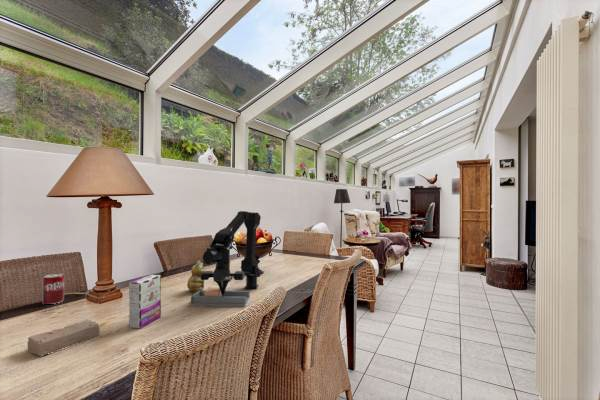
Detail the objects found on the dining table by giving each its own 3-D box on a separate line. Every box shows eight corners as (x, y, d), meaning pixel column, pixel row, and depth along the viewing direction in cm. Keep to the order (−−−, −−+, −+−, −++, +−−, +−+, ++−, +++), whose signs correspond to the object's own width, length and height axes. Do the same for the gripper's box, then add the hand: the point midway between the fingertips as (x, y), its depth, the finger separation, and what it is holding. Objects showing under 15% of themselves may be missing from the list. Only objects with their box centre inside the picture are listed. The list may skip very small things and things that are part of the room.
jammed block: (208, 296, 134) (208, 287, 134) (221, 296, 133) (221, 287, 134) (204, 300, 127) (204, 291, 128) (217, 300, 127) (217, 291, 127)
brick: (87, 330, 101) (87, 317, 101) (101, 335, 97) (101, 321, 97) (26, 352, 86) (26, 337, 86) (39, 359, 82) (39, 343, 82)
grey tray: (199, 296, 137) (199, 289, 137) (249, 297, 136) (249, 290, 136) (189, 305, 125) (189, 297, 125) (244, 306, 124) (245, 298, 124)
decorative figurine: (204, 292, 142) (205, 262, 142) (186, 294, 140) (187, 263, 140) (204, 287, 151) (204, 258, 152) (187, 288, 149) (187, 259, 149)
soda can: (67, 301, 129) (67, 274, 129) (47, 306, 122) (48, 278, 122) (58, 298, 132) (58, 272, 132) (38, 303, 125) (39, 276, 125)
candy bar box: (150, 315, 114) (150, 274, 114) (161, 317, 113) (161, 275, 113) (127, 328, 103) (128, 281, 103) (139, 329, 102) (140, 282, 102)
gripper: (196, 263, 122) (196, 300, 122) (240, 264, 123) (239, 300, 122) (204, 258, 134) (204, 292, 134) (245, 258, 134) (244, 292, 134)
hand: (222, 294), depth 130 cm, fingers closed
